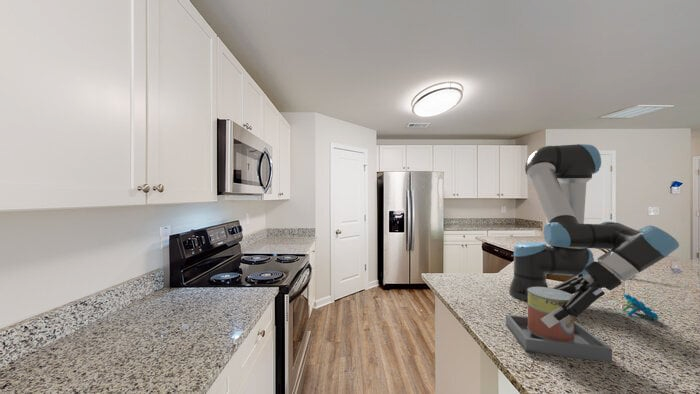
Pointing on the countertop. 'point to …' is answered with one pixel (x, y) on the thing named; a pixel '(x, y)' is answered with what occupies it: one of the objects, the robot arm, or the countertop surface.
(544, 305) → the canned food
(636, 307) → the blue irregular piece
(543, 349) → the tray
